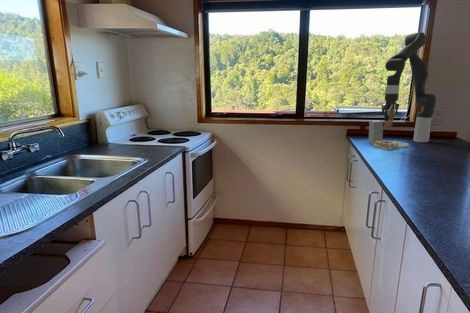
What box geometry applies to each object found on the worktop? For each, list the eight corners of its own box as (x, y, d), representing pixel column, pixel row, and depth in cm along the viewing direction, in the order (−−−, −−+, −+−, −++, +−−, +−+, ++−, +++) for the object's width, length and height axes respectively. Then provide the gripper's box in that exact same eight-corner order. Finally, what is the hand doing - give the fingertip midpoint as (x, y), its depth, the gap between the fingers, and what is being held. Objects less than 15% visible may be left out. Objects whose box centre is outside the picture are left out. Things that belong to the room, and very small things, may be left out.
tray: (394, 144, 219) (394, 141, 218) (408, 147, 210) (408, 144, 210) (384, 146, 214) (385, 142, 214) (398, 149, 206) (398, 145, 205)
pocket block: (383, 146, 214) (384, 140, 213) (397, 149, 205) (398, 142, 204) (373, 147, 209) (374, 141, 208) (386, 150, 201) (387, 144, 200)
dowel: (387, 127, 207) (389, 108, 204) (393, 128, 203) (395, 109, 200) (382, 127, 205) (384, 108, 202) (388, 128, 201) (391, 109, 198)
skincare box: (382, 145, 217) (385, 121, 213) (371, 145, 217) (374, 121, 213) (377, 142, 225) (379, 119, 221) (366, 142, 225) (369, 119, 221)
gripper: (394, 92, 205) (390, 119, 209) (378, 92, 198) (376, 120, 203) (405, 92, 199) (401, 120, 203) (389, 93, 192) (386, 122, 196)
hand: (388, 120), depth 203 cm, fingers closed on dowel, 4 cm apart
